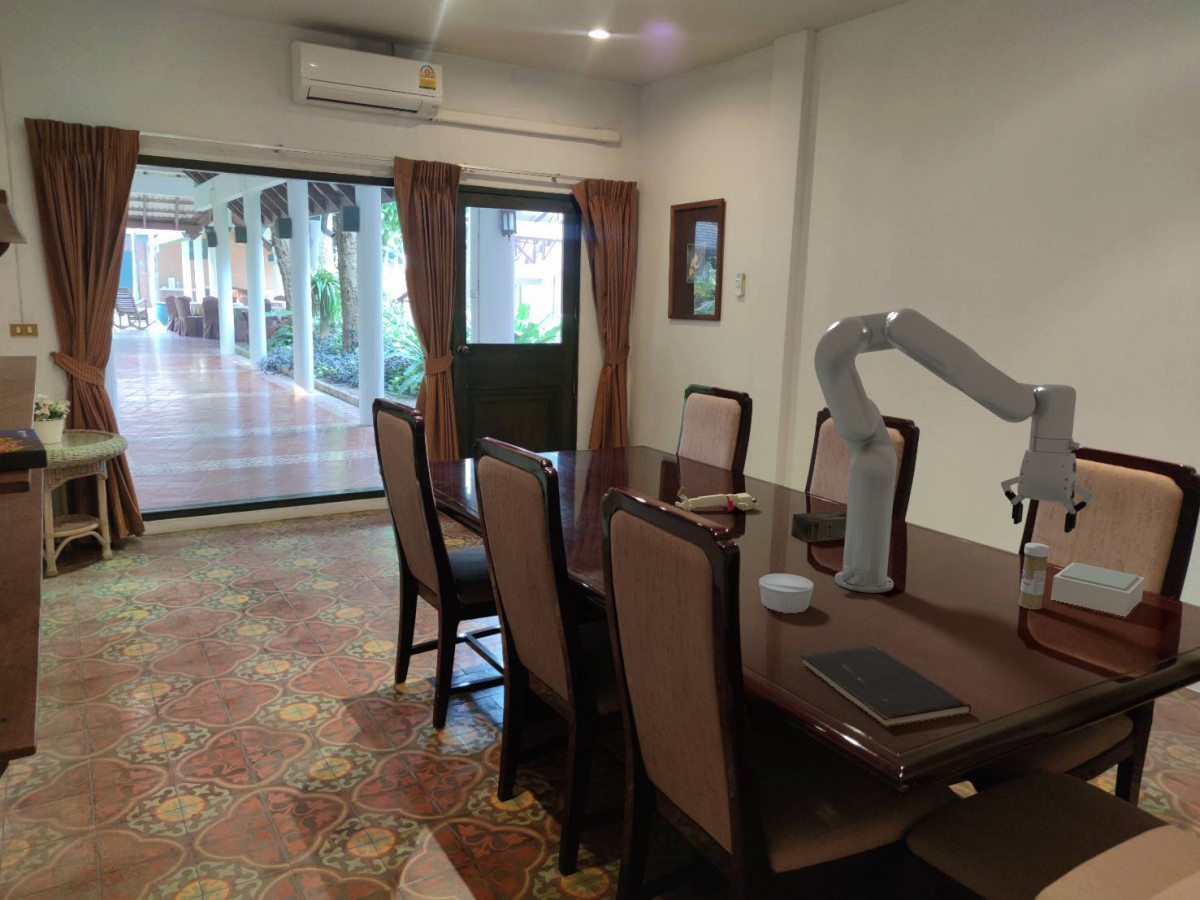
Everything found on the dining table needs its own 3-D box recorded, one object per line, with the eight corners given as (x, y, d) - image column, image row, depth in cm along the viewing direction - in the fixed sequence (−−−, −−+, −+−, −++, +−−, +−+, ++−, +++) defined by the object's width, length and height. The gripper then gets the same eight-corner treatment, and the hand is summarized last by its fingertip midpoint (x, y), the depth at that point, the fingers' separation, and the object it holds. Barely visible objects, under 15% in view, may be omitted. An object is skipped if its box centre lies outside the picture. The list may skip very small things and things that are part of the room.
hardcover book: (883, 732, 123) (884, 718, 123) (799, 667, 144) (800, 654, 144) (970, 717, 128) (972, 703, 128) (876, 656, 150) (878, 644, 149)
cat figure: (683, 520, 243) (762, 511, 248) (681, 492, 241) (762, 482, 246) (673, 512, 252) (750, 503, 257) (671, 484, 251) (749, 475, 256)
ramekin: (772, 618, 165) (774, 593, 165) (748, 598, 176) (749, 575, 175) (822, 613, 168) (824, 589, 168) (795, 595, 179) (797, 571, 178)
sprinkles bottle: (1013, 602, 177) (1020, 542, 174) (1033, 602, 177) (1040, 541, 175) (1026, 610, 172) (1033, 548, 170) (1047, 610, 173) (1054, 548, 170)
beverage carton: (866, 538, 224) (868, 514, 223) (805, 544, 217) (807, 520, 216) (848, 530, 231) (850, 507, 230) (789, 536, 225) (790, 512, 224)
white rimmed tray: (1125, 618, 169) (1129, 590, 168) (1050, 600, 178) (1053, 574, 177) (1141, 602, 179) (1145, 575, 178) (1069, 585, 188) (1072, 560, 187)
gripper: (1103, 448, 165) (1094, 531, 168) (1011, 439, 177) (1004, 516, 180) (1092, 453, 160) (1084, 538, 163) (998, 443, 172) (992, 523, 175)
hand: (1042, 527), depth 171 cm, fingers open, 9 cm apart
